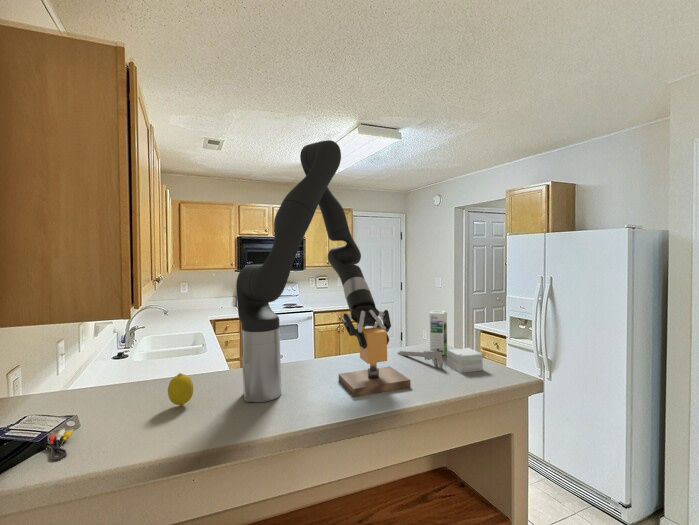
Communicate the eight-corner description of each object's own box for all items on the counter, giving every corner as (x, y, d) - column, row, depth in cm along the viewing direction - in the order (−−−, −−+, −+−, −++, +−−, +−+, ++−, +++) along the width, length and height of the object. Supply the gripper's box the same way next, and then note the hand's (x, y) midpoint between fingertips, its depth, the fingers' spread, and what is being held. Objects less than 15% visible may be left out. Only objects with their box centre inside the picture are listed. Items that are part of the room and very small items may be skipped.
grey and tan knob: (370, 379, 96) (370, 360, 96) (366, 375, 99) (365, 357, 99) (380, 377, 97) (380, 359, 97) (376, 374, 100) (375, 356, 100)
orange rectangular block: (368, 363, 95) (367, 333, 94) (360, 357, 100) (359, 329, 100) (387, 360, 97) (386, 331, 96) (378, 355, 102) (377, 327, 102)
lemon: (169, 403, 88) (168, 371, 88) (194, 400, 90) (193, 368, 90) (167, 413, 83) (165, 378, 83) (193, 409, 85) (192, 375, 85)
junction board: (354, 396, 90) (353, 388, 90) (338, 380, 101) (338, 373, 101) (410, 387, 96) (410, 379, 95) (390, 373, 107) (389, 366, 107)
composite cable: (67, 460, 65) (66, 446, 65) (32, 469, 63) (32, 455, 63) (74, 436, 74) (73, 424, 74) (43, 443, 71) (43, 431, 71)
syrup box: (429, 354, 125) (429, 312, 124) (431, 349, 130) (430, 309, 130) (446, 355, 123) (446, 313, 123) (447, 350, 129) (447, 310, 128)
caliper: (442, 369, 110) (442, 348, 110) (440, 369, 109) (440, 349, 109) (399, 353, 127) (399, 336, 127) (397, 354, 127) (396, 336, 127)
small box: (468, 362, 115) (468, 347, 115) (483, 370, 108) (483, 353, 108) (446, 365, 113) (446, 349, 113) (460, 373, 106) (459, 356, 106)
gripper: (337, 289, 102) (354, 341, 91) (384, 286, 107) (404, 335, 96) (332, 305, 107) (347, 356, 97) (377, 301, 112) (395, 349, 101)
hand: (375, 345), depth 96 cm, fingers closed on orange rectangular block, 5 cm apart
